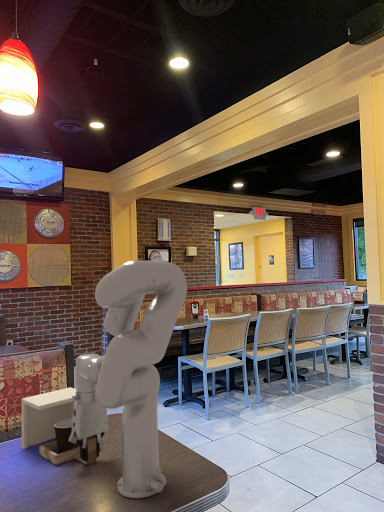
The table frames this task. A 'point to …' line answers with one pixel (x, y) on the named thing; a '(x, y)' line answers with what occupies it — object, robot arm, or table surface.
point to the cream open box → (45, 415)
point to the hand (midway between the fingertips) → (90, 457)
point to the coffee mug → (64, 436)
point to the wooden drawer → (69, 452)
